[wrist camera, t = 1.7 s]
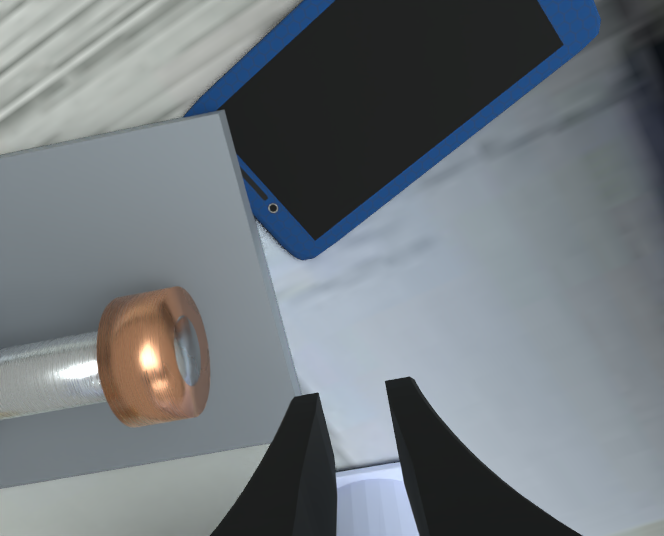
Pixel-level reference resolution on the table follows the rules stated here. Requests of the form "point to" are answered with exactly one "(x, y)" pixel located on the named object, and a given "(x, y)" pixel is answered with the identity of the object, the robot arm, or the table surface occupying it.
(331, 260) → the table surface
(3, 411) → the copper and silver rod
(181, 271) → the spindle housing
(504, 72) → the cell phone
